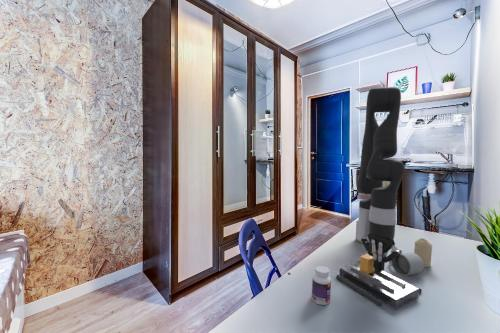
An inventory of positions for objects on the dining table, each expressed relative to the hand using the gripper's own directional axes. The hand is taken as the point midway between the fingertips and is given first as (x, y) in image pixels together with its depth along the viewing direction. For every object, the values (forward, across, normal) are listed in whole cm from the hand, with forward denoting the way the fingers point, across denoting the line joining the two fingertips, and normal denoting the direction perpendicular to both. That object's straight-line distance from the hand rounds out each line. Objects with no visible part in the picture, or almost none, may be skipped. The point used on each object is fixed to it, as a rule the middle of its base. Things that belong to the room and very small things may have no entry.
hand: (378, 270), depth 77 cm
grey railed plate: (+5, -1, 0) cm, 5 cm away
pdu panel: (+5, -1, 0) cm, 5 cm away
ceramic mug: (+6, -2, +18) cm, 19 cm away
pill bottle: (+6, -4, -22) cm, 23 cm away
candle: (+6, -2, +31) cm, 31 cm away
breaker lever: (+2, -4, 0) cm, 5 cm away
